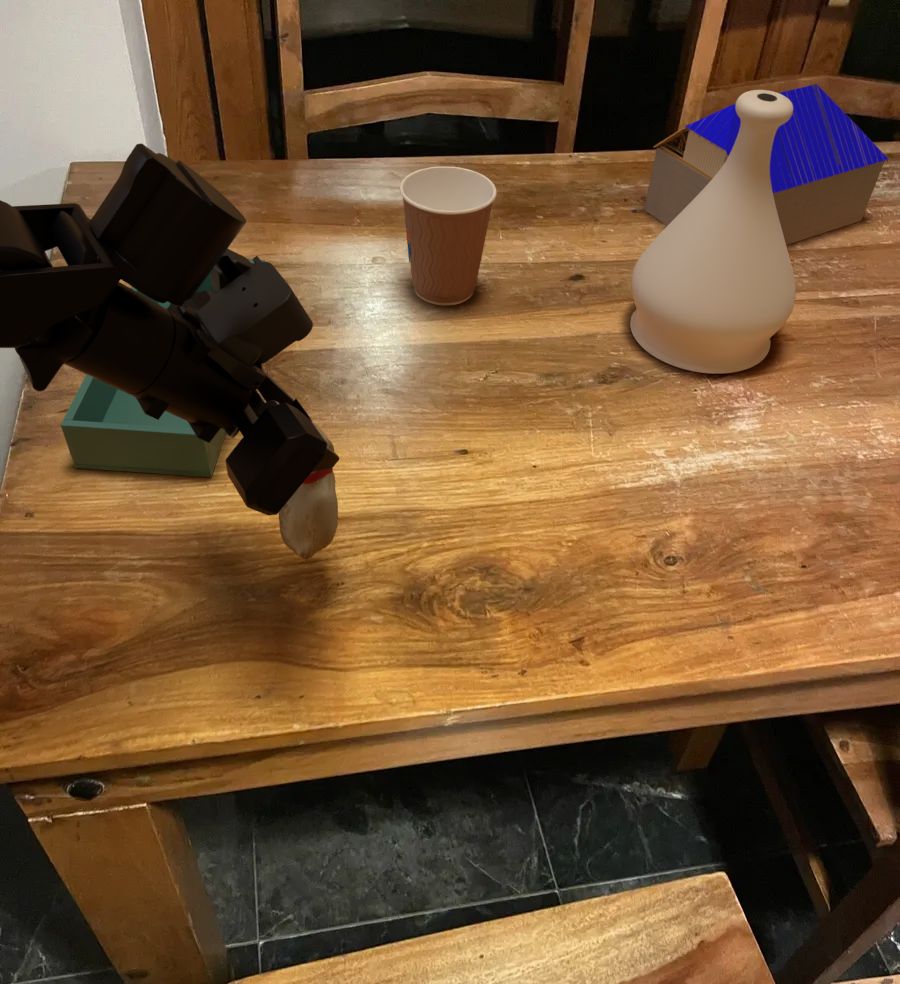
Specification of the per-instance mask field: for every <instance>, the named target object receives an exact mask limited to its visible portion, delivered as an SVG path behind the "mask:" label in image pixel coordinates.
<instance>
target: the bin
mask: <svg viewBox="0 0 900 984" xmlns="http://www.w3.org/2000/svg"><path fill="white" fill-rule="evenodd" d="M247 259H248V260H249V261H250V262H251V263H253V264H255V263H254V261H253V260H252V259H253V258H247ZM260 260H261V261H262V262H266V260H265V259H260ZM130 288H131V289H133V290H134V291H136V292H138V293H140V294H141V295H143V296H145V297H146V298H148V299H150V300H152V301H153V302H155V303H157V304H159V305H160V306H162V307H164V308H166V309H167V308H168V307H169V305H170V304H171V303H169V302H167V301H166V302H165V303H160V302H157V301H155V300H153V299H151V298H149V297H147V296H146V295H144V294H142V293H141V292H139V291H138V290H136V289H135V288H134V287H132V286H131V285H130ZM210 289H213V291H214V292H215V288H214V287H213V285H212V281H211V272H210V273H209V275H208V276H207V277H206V279H205V280H204V282H203V283H202V284H201V286H200V287H199V288H198V290H197V291H196V293H197V292H201V291H209V290H210ZM60 427H61V430H62V434H63V436H64V439H65V442H66V444H67V447H68V451H69V454H70V457H71V459H72V462H73V465H74V468H75V469H87V470H99V471H100V470H102V471H104V470H105V471H114V472H115V471H116V472H128V473H129V472H130V473H143V474H144V473H145V474H160V475H171V476H172V475H174V476H185V477H187V476H188V477H202V478H212V476H213V474H214V470H215V467H216V465H217V461H218V459H219V456H220V452H221V449H222V446H223V443H224V440H225V437H226V435H227V433H226V432H225V430H224V429H222V428H221V429H220V430H219V431H218V433H217V434H216V435H215V436H214V438H213V439H212V440H211V442H210V443H208V442H206V441H204V440H201V439H199V438H197V436H196V434H195V433H194V431H193V429H192V428H191V426H190V424H189V423H188V421H186V420H184V419H181V418H179V417H177V416H175V415H173V414H171V413H169V412H166V411H165V412H164V413H163V414H162V416H161V417H160V418H159V420H157V419H155V418H153V417H151V416H148V415H146V414H145V413H144V411H143V409H142V408H141V406H140V404H139V402H138V400H137V399H136V397H134V396H132V395H130V394H128V393H126V392H123V391H121V390H119V389H117V388H115V387H113V386H110V385H108V384H106V383H104V382H102V381H100V380H98V379H95V378H93V377H91V376H89V375H87V374H85V376H84V377H83V380H82V382H81V384H80V386H79V387H78V390H77V392H76V394H75V395H74V397H73V400H72V401H71V404H70V406H69V407H68V409H67V411H66V414H65V415H64V417H63V419H62V422H61V424H60Z"/></svg>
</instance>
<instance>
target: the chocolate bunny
mask: <svg viewBox="0 0 900 984" xmlns="http://www.w3.org/2000/svg"><path fill="white" fill-rule="evenodd" d="M312 423H313V424H314V426H315V427H316V428H317V430H318V431H319V433H320V434H321V435H322V437H323V438H324V440H325V441H326V442H327V446H328V447H329V448H330V449H331V450H332V451H334V452H335V447H334V444H333V443H332V441H331V440H330V439H329V438H328V436H327V434H326V433H325V432H324V430H322V428H321V427H320V426H319V425H318V424H317V423H315V422H312ZM333 468H334V467H333ZM333 468H331V469H328V470H321V471H314V472H312V473H311V474H310V475H309V476H308V477H307V479H306V480H305V481H304V482H303V483H302V485H301V486H300V487H299V488H298V490H297V491H296V492H295V493H294V494H293V496H292V497H291V498H290V499H289V500H288V502H287V503H286V504H285V505H284V507H283V508H282V509H281V510H280V511H279V513H278V523H279V531H280V537H281V539H282V541H283V543H284V545H285V546H286V547H287V548H288V549H290V550H291V551H292V552H293V553H294V554H296V556H298V557H300V558H301V559H303V560H306V561H309V560H310V559H313V557H314V556H315V555H316V554H317V553H318V552H320V551H322V550H324V549H326V548H327V547H328V546H329V545H330V544H331V543H332V542H333V540H334V538H335V535H336V532H337V529H338V526H339V505H338V503H339V502H338V497H337V492H336V491H337V490H336V475H335V473H334V469H333Z"/></svg>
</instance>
